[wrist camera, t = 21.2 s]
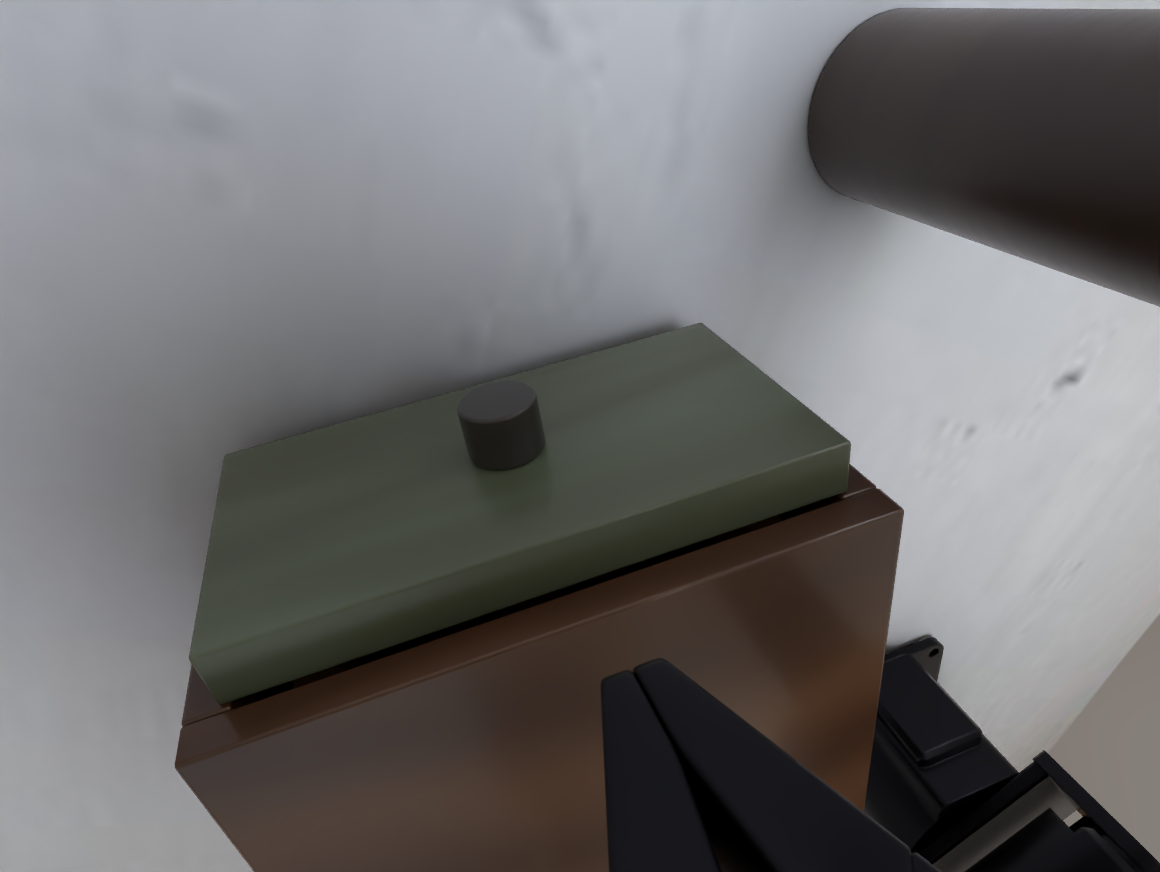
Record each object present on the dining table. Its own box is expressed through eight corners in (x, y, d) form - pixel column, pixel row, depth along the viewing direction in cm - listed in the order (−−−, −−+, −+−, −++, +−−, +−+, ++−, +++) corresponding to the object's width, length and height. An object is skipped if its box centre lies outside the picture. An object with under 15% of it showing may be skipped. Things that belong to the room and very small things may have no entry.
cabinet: (220, 482, 18) (171, 768, 11) (708, 343, 20) (905, 508, 14) (372, 778, 25) (398, 1063, 18) (723, 647, 27) (859, 855, 20)
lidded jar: (917, 207, 20) (1452, 384, 11) (784, 187, 19) (1278, 374, 9) (985, 28, 18) (1716, 53, 9) (843, -11, 17) (1549, -32, 7)
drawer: (201, 409, 16) (151, 605, 11) (698, 277, 18) (857, 385, 13) (373, 754, 23) (393, 974, 18) (717, 627, 25) (825, 789, 20)
